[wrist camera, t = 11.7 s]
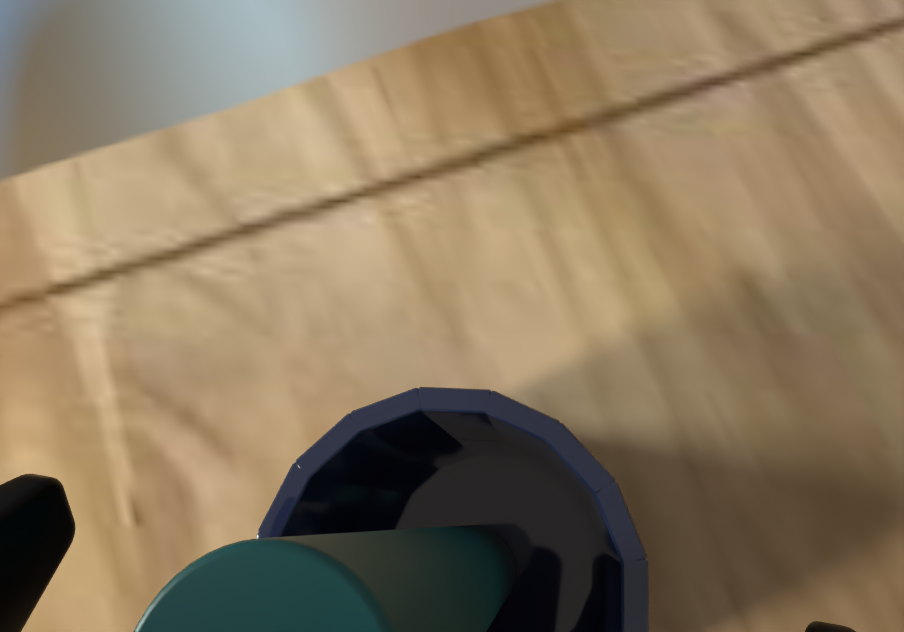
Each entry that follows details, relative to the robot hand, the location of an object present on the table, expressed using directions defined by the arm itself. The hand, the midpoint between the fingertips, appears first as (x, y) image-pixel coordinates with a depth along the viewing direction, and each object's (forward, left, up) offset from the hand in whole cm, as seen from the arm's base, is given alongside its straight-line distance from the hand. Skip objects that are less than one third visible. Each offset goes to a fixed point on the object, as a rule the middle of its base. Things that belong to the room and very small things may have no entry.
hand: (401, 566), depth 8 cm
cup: (-1, 0, -10) cm, 10 cm away
